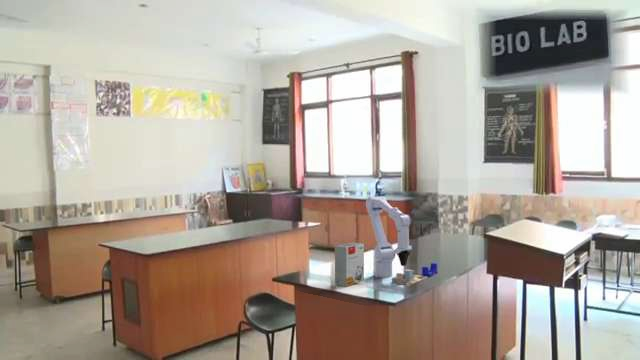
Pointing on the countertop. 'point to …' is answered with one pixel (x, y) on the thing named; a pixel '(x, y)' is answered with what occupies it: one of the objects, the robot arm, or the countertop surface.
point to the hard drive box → (349, 264)
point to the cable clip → (429, 272)
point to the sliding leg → (409, 275)
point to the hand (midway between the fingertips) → (403, 265)
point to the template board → (401, 278)
